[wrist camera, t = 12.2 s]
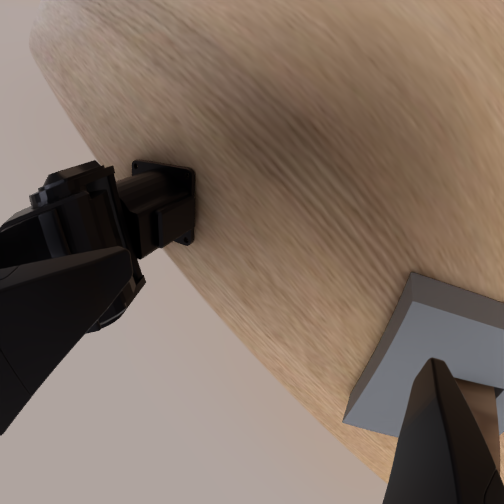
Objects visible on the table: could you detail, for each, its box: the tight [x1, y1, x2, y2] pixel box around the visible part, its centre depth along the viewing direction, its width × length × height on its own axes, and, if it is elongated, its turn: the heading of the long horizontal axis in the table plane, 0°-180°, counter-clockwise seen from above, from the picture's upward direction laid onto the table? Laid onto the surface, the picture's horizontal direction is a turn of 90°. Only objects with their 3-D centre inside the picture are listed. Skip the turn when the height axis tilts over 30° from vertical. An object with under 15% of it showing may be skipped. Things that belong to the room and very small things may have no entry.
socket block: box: [342, 272, 504, 437], centre depth 18 cm, size 16×14×4 cm
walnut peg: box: [454, 377, 500, 474], centre depth 14 cm, size 5×3×12 cm, turn 83°
